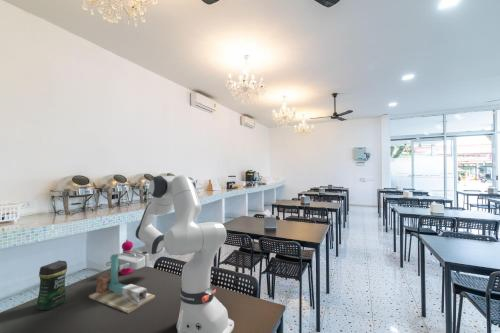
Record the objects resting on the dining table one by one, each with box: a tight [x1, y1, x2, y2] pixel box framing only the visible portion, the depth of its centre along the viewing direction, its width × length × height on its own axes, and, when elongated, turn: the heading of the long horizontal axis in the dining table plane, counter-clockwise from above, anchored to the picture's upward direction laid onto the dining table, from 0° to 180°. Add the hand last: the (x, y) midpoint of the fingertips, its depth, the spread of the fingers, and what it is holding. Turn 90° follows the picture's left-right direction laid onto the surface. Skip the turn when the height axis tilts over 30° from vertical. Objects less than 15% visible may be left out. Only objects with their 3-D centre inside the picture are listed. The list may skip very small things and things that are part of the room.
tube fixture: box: [88, 271, 156, 314], centre depth 110 cm, size 28×14×8 cm, turn 64°
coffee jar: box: [36, 260, 68, 311], centre depth 104 cm, size 10×8×19 cm
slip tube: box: [107, 253, 128, 294], centre depth 111 cm, size 17×3×16 cm, turn 64°
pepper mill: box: [120, 238, 134, 276], centre depth 139 cm, size 7×7×20 cm
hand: (112, 266), depth 112 cm, fingers open, 8 cm apart
